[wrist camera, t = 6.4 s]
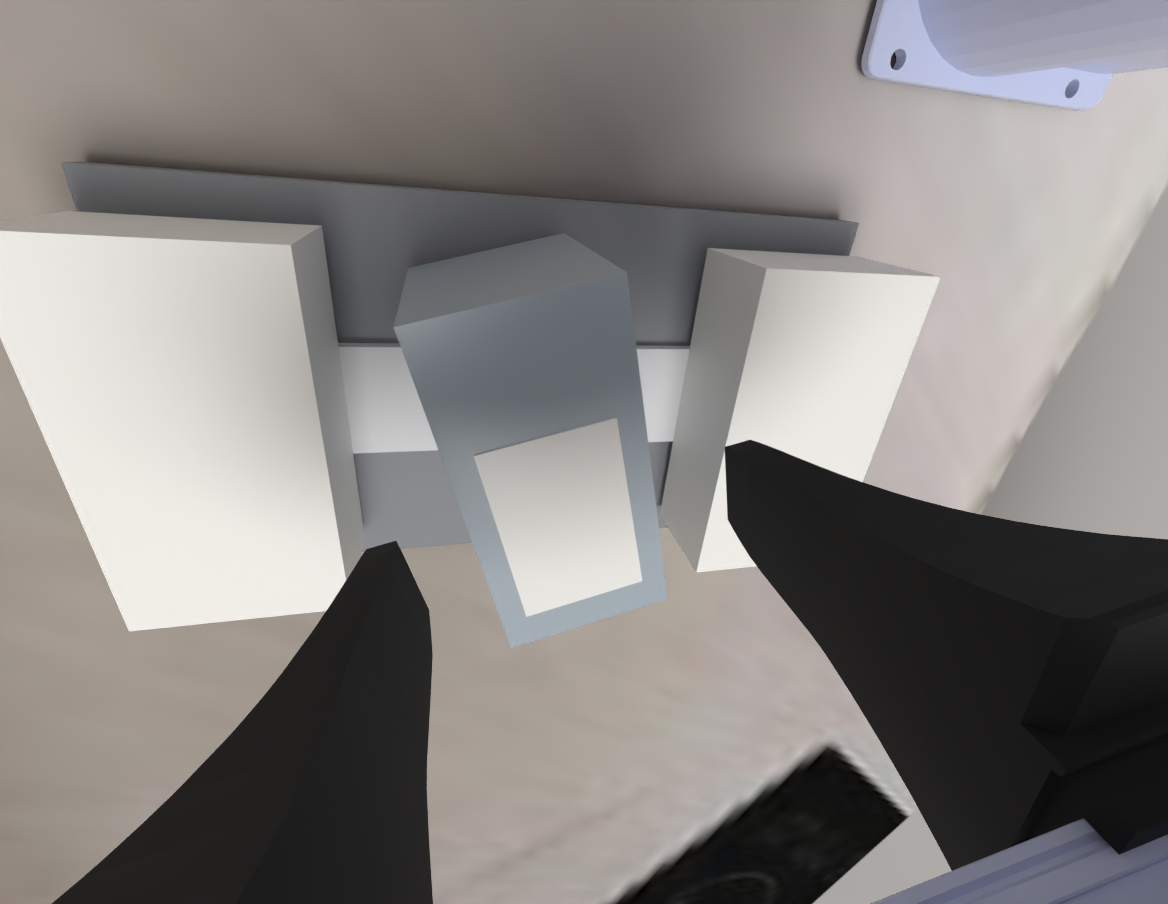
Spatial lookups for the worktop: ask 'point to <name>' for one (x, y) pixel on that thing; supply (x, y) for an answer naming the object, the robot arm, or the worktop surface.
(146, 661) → the worktop surface
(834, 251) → the rail board
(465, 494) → the block
